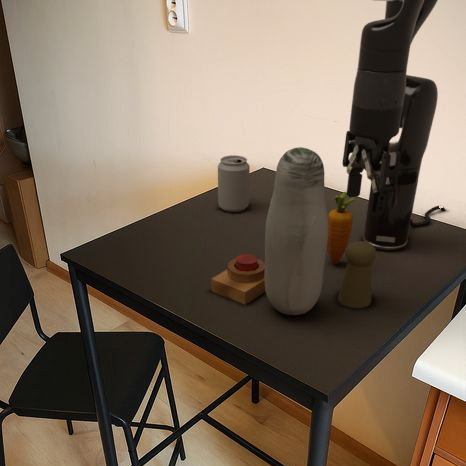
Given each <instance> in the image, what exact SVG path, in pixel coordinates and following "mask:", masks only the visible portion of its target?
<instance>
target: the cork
mask: <svg viewBox="0 0 466 466" xmlns="http://www.w3.org/2000/svg"><path fill="white" fill-rule="evenodd" d="M345 258H346V261H347V263H346V265H345V266H346V267H345V269H344V274H343V278H342V281H341V284H340V289H339V292H338V296H337V300H338V302H339V304H341V305H342V306H344V307H347V308H352V309H364V308H366V307H368V306H370V305H371V303H372V264H373V263H374V262H375V259H376V258H377V249H375V247H374V246H373V245H372V244H370V243H368V242H364V241H363V240H357V241H356V240H355V241H353V242H350V243H348V245H347V247H346V250H345Z"/></svg>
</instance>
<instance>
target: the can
mask: <svg viewBox="0 0 466 466" xmlns="http://www.w3.org/2000/svg"><path fill="white" fill-rule="evenodd" d="M247 161H248V159H247V157H245V156H242V155H235V154H233V155H232V154H231V155H226V156H223V157H221V158H220V162H219V163H218V164H217V204H218V207H219V208H221V210H223V211H225V212H227V213H241V212H243V211H245V210H246V209H247V208H248V207H249V205H250V171H251V169H250V168H251V167H250V166H251V165H250V164H249V163H248V162H247Z"/></svg>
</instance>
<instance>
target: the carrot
mask: <svg viewBox="0 0 466 466" xmlns="http://www.w3.org/2000/svg"><path fill="white" fill-rule="evenodd" d="M346 198H347V191H343V192H342V194H340V195H339V194H338V195H336V196H334V199H335V202H336V205H337V206H336V207H337V208H334V209H332V210H331V211H330V212H329V213H327V214H328V241H327V253H328V256H329V259H330V261H331V263H332V264H333V265H334V266H336V265H337V264H339V262H340V261H341V259H342V258H343V256H344V254H345V253H346V249H347V247H348V245H349V242H350V238H351V233H352V227H353V223H354V222H353V220H354V215H353V213H352V212H351V211H349V210H348V209H347V207H348V206H349V205H350V204H351V203H353V202H355V201H356V198H355V197H351V198H350V199H348V200H347V201H346Z"/></svg>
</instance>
